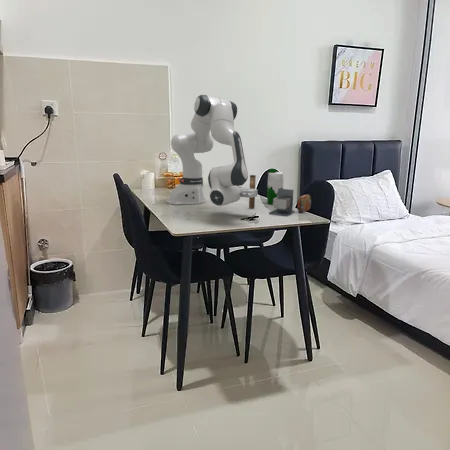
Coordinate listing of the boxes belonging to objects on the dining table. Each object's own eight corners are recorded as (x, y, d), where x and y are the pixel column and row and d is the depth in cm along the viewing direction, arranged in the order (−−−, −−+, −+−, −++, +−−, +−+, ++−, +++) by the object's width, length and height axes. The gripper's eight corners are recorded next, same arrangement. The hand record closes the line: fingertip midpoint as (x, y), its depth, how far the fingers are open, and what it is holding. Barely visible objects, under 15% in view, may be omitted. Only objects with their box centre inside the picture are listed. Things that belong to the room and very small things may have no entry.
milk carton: (267, 201, 243) (269, 168, 238) (282, 202, 241) (284, 168, 236) (266, 204, 234) (267, 169, 230) (281, 205, 232) (283, 170, 228)
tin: (301, 213, 211) (302, 197, 209) (295, 212, 213) (296, 196, 211) (311, 209, 224) (312, 193, 222) (306, 208, 225) (307, 193, 223)
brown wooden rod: (250, 209, 220) (251, 175, 215) (247, 208, 222) (248, 175, 218) (255, 208, 221) (256, 175, 217) (252, 207, 224) (253, 174, 219)
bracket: (287, 216, 203) (289, 192, 200) (269, 214, 207) (270, 190, 205) (295, 212, 214) (296, 189, 211) (277, 210, 218) (278, 188, 215)
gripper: (251, 188, 191) (262, 185, 203) (213, 185, 200) (226, 182, 212) (251, 201, 192) (262, 197, 204) (213, 198, 201) (225, 194, 213)
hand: (243, 190), depth 208 cm, fingers open, 8 cm apart
